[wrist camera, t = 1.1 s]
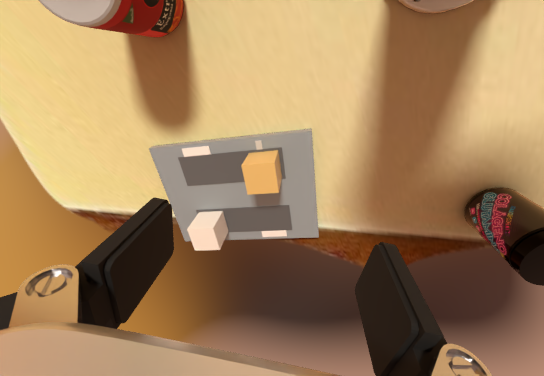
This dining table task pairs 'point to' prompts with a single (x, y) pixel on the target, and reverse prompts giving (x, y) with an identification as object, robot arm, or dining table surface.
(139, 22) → the canned food
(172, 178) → the switch board
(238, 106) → the dining table surface
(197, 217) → the pale pink cube
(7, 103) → the dining table surface
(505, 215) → the supplement container
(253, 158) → the orange cube
